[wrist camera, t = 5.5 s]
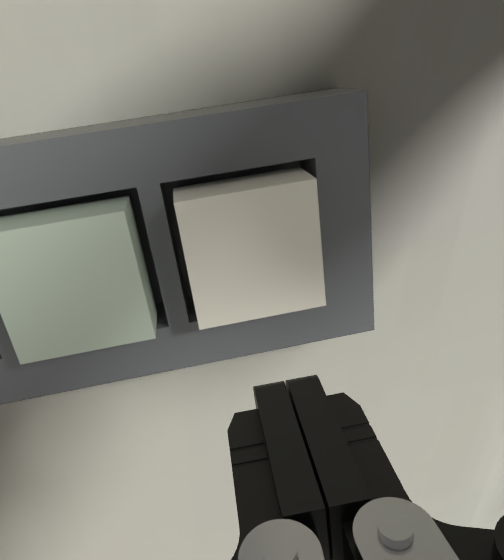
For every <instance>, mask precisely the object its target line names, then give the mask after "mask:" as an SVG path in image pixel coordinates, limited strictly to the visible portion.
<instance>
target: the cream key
mask: <svg viewBox="0 0 504 560" xmlns="http://www.w3.org/2000/svg"><path fill="white" fill-rule="evenodd" d="M173 200H174V207H175V212H176V217H177V222H178V227H179V232H180V237H181V242H182V247H183V252H184V257H185V262H186V266H187V271H188V276H189V281H190V286H191V291H192V296H193V301H194V306H195V311H196V316H197V321H198V326H199V330H202V329H207V328H212V327H218V326H223V325H228V324H233V323H238V322H244V321H249V320H254V319H259V318H264V317H269V316H275V315H280V314H285V313H290V312H295V311H301V310H306V309H311V308H316V307H321V306H326V297H325V283H324V270H323V257H322V244H321V231H320V218H319V204H318V191H317V179H316V178H315V177H313V176H312V175H311V174H309V173H308V172H306V171H305V170H304V169H302V168H301V167H297V168H291V169H285V170H279V171H273V172H267V173H260V174H254V175H248V176H242V177H236V178H230V179H224V180H218V181H212V182H206V183H200V184H194V185H188V186H182V187H176V188H173Z"/></svg>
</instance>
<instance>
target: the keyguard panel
mask: <svg viewBox="0 0 504 560" xmlns="http://www.w3.org/2000/svg"><path fill="white" fill-rule="evenodd" d="M297 167H301V168H302V169H304V170H305V171H306V172H308V173H309V174H311V175H312V176H313V177H315V178H316V179H317V191H318V204H319V218H320V231H321V244H322V257H323V270H324V283H325V297H326V306H321V307H316V308H311V309H306V310H301V311H295V312H290V313H285V314H280V315H275V316H269V317H264V318H259V319H254V320H249V321H244V322H238V323H233V324H228V325H223V326H218V327H212V328H207V329H202V330H199V326H198V321H197V316H196V311H195V306H194V301H193V296H192V291H191V286H190V281H189V276H188V271H187V266H186V262H185V257H184V252H183V247H182V242H181V237H180V232H179V227H178V222H177V217H176V212H175V207H174V200H173V188H176V187H182V186H188V185H194V184H200V183H206V182H212V181H218V180H224V179H230V178H236V177H242V176H248V175H254V174H260V173H267V172H273V171H279V170H285V169H291V168H297ZM128 195H130V200H131V204H132V208H133V212H134V216H135V220H136V225H137V229H138V233H139V237H140V241H141V245H142V250H143V254H144V258H145V262H146V266H147V270H148V275H149V279H150V283H151V287H152V291H153V295H154V300H155V304H156V308H157V324H156V339H150V340H145V341H140V342H135V343H130V344H124V345H119V346H114V347H109V348H104V349H99V350H93V351H88V352H83V353H78V354H73V355H67V356H62V357H57V358H52V359H47V360H42V361H36V362H31V363H26V364H21V365H20V362H19V360H18V357H17V355H16V352H15V350H14V347H13V345H12V342H11V339H10V337H9V334H8V332H7V329H6V327H5V324H4V322H3V319H2V317H1V314H0V405H1V404H6V403H11V402H16V401H21V400H26V399H31V398H36V397H41V396H46V395H51V394H56V393H61V392H66V391H71V390H76V389H81V388H86V387H91V386H96V385H101V384H106V383H111V382H116V381H121V380H126V379H131V378H136V377H141V376H146V375H151V374H156V373H161V372H166V371H171V370H176V369H181V368H186V367H191V366H196V365H201V364H206V363H211V362H216V361H221V360H226V359H231V358H236V357H241V356H246V355H251V354H256V353H261V352H266V351H271V350H276V349H281V348H286V347H291V346H296V345H301V344H306V343H311V342H316V341H321V340H326V339H331V338H336V337H341V336H346V335H351V334H356V333H361V332H366V331H371V330H374V304H373V271H372V237H371V204H370V171H369V138H368V105H367V90H357V89H345V88H333V89H327V90H320V91H314V92H307V93H300V94H294V95H287V96H281V97H274V98H267V99H261V100H254V101H248V102H241V103H234V104H228V105H221V106H215V107H208V108H201V109H195V110H188V111H182V112H175V113H168V114H162V115H155V116H149V117H142V118H135V119H129V120H122V121H115V122H109V123H102V124H96V125H89V126H82V127H76V128H69V129H63V130H56V131H49V132H43V133H36V134H30V135H23V136H16V137H10V138H3V139H0V217H1V216H7V215H13V214H19V213H25V212H31V211H37V210H43V209H49V208H55V207H61V206H67V205H73V204H79V203H85V202H91V201H97V200H103V199H109V198H115V197H121V196H128Z"/></svg>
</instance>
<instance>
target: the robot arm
mask: <svg viewBox="0 0 504 560" xmlns="http://www.w3.org/2000/svg"><path fill="white" fill-rule="evenodd" d="M253 390H254V397H255V403H256V409H254V410H249V411H243V412H238V413H235V414H234V416H233V419H232V421H231V423H230V426H229V428H228V439H229V447H230V455H231V463H232V471H233V479H234V487H235V495H236V503H237V511H238V520H239V528H240V537H239V543H238V546H237V549H236V552H235V554H234V556H233V557H232V559H231V560H504V516H502V517H501V518H500V519H499V521H498V522H497V524H496V527H495V530H492V529H481V528H471V527H461V526H455V525H450V524H446V523H443V522H440V521H438V520H435V519H434V518H432V517H431V516H430V515H429V514H428V513H427V512H426V511H425V510H424V509H422V508H421V507H420V506H418V505H416V504H414V503H413V502H412V501H411V500H410V499H409V497H408V495H407V494H406V492H405V490H404V488H403V486H402V484H401V482H400V480H399V479H398V477H397V475H396V473H395V471H394V469H393V467H392V465H391V463H390V461H389V460H388V458H387V456H386V454H385V452H384V450H383V448H382V446H381V444H380V442H379V441H378V440H377V438H376V435H375V433H374V431H373V429H372V427H371V426H370V425H369V422H368V420H367V418H366V416H365V414H364V412H363V410H362V408H361V406H360V405H359V404H358V403H356V402H355V401H354V400H352V399H351V398H350V397H349V396H347V395H346V394H345V393H338V394H333V395H328V396H326V394H325V392H324V389H323V387H322V385H321V383H320V380H319V378H318V376H317V375H313V376H307V377H302V378H296V379H291V380H286V385H285V383H284V381H281V382H275V383H270V384H265V385H259V386H254V387H253Z"/></svg>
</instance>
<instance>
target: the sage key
mask: <svg viewBox="0 0 504 560" xmlns="http://www.w3.org/2000/svg"><path fill="white" fill-rule="evenodd" d="M0 314H1V317H2V319H3V322H4V324H5V327H6V329H7V332H8V334H9V337H10V339H11V342H12V345H13V347H14V350H15V352H16V355H17V357H18V360H19V362H20V365H21V364H26V363H31V362H36V361H42V360H47V359H52V358H57V357H62V356H67V355H73V354H78V353H83V352H88V351H93V350H99V349H104V348H109V347H114V346H119V345H124V344H130V343H135V342H140V341H145V340H150V339H156V324H157V308H156V304H155V300H154V295H153V291H152V287H151V283H150V279H149V275H148V270H147V266H146V262H145V258H144V254H143V250H142V245H141V241H140V237H139V233H138V229H137V225H136V220H135V216H134V212H133V208H132V204H131V200H130V195H128V196H121V197H115V198H109V199H103V200H97V201H91V202H85V203H79V204H73V205H67V206H61V207H55V208H49V209H43V210H37V211H31V212H25V213H19V214H13V215H7V216H1V217H0Z"/></svg>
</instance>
